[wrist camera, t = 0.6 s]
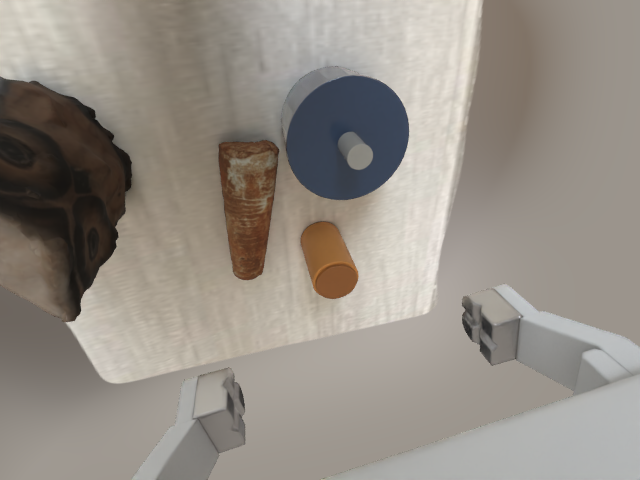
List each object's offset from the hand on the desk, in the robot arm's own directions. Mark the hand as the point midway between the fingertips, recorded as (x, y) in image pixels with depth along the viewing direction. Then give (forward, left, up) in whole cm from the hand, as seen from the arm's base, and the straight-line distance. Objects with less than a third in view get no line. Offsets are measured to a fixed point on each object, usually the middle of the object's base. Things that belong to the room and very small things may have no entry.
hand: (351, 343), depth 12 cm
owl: (+1, -22, -34) cm, 40 cm away
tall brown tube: (+19, +4, -33) cm, 39 cm away
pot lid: (+3, +7, -26) cm, 27 cm away
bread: (+12, -4, -34) cm, 36 cm away
